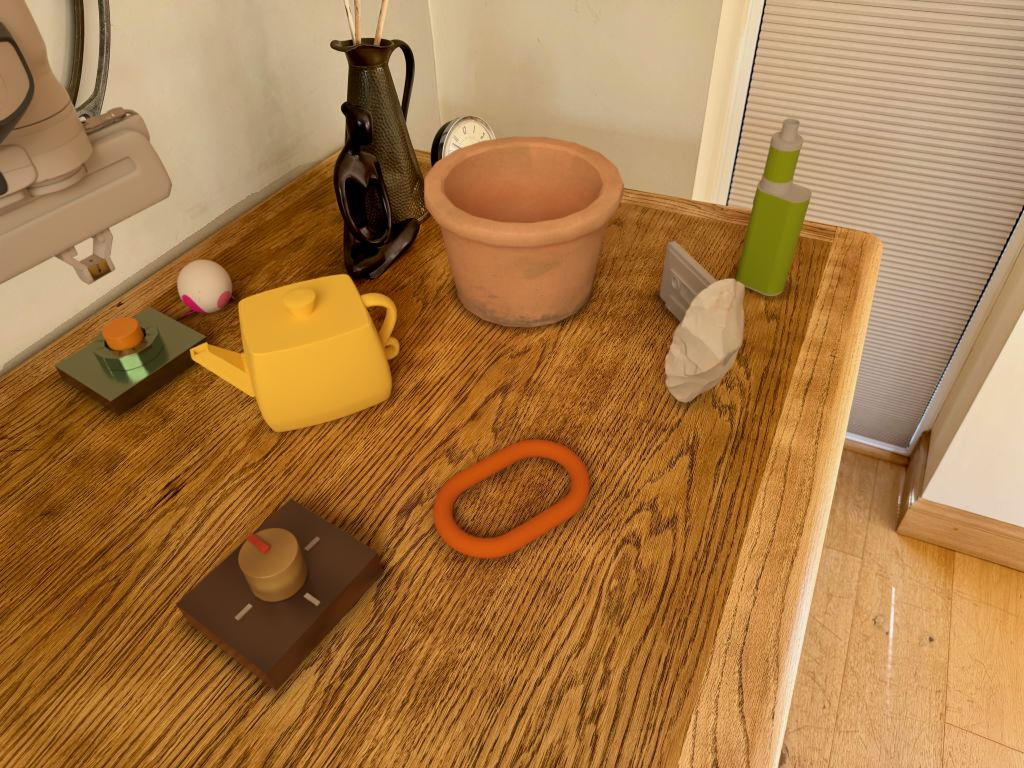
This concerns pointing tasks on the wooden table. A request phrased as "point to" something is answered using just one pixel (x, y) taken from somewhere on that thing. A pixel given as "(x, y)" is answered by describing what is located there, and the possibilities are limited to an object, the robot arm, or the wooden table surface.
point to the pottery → (523, 225)
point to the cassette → (681, 280)
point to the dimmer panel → (296, 620)
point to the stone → (706, 340)
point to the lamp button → (122, 333)
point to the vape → (775, 216)
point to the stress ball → (204, 286)
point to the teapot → (309, 352)
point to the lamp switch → (132, 362)
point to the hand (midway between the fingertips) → (98, 275)
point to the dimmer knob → (273, 564)
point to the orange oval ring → (529, 528)
